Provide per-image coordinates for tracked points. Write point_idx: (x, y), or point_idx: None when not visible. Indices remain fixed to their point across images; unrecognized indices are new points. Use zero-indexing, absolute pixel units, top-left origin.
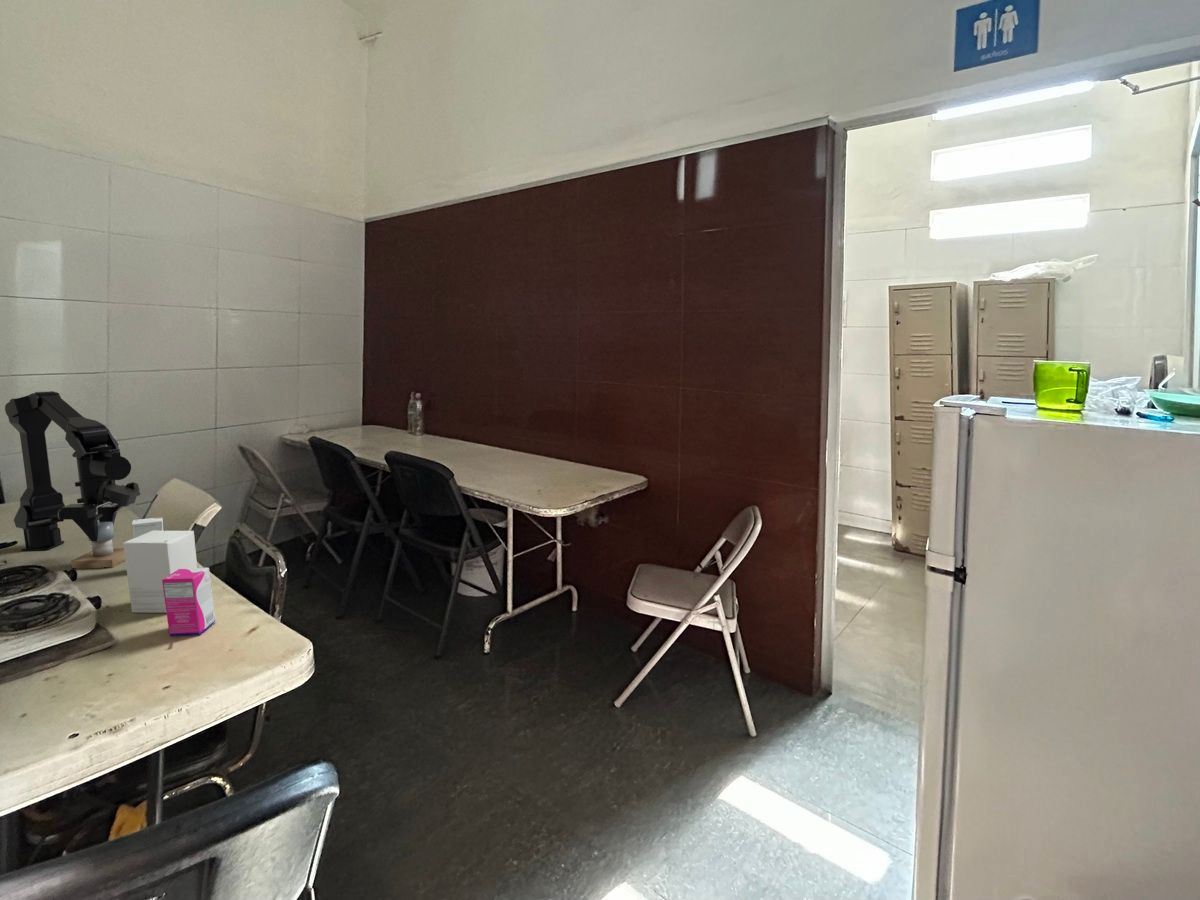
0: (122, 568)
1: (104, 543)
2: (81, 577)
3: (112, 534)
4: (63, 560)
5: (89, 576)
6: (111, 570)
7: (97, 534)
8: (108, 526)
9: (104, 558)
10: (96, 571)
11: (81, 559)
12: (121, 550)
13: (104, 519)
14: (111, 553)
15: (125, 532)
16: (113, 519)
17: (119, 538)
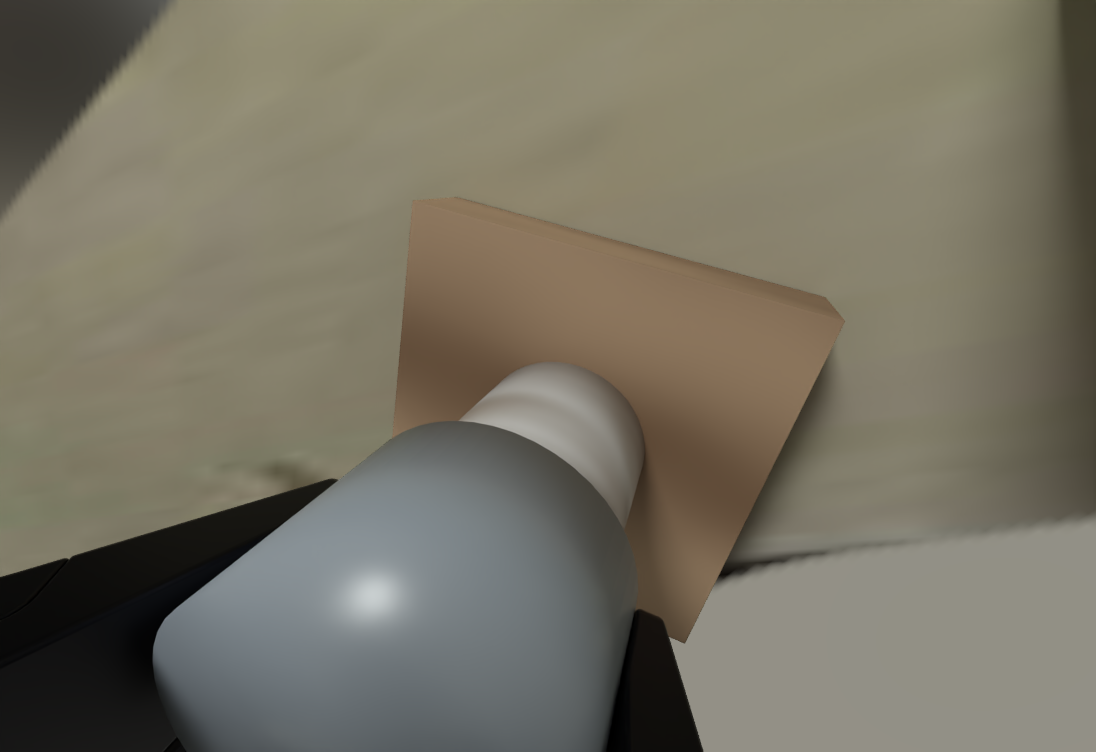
0: (922, 182)
1: (603, 491)
2: (1054, 511)
3: (479, 459)
4: None
5: (1069, 452)
6: (941, 286)
7: (641, 696)
8: (455, 646)
9: (738, 408)
10: (886, 419)
11: (674, 582)
12: (475, 306)
13: (96, 740)
14: (589, 373)
15: (7, 401)
16: (49, 602)
17: (93, 410)
